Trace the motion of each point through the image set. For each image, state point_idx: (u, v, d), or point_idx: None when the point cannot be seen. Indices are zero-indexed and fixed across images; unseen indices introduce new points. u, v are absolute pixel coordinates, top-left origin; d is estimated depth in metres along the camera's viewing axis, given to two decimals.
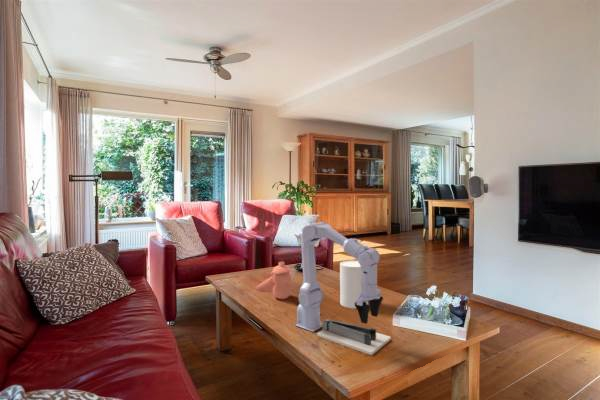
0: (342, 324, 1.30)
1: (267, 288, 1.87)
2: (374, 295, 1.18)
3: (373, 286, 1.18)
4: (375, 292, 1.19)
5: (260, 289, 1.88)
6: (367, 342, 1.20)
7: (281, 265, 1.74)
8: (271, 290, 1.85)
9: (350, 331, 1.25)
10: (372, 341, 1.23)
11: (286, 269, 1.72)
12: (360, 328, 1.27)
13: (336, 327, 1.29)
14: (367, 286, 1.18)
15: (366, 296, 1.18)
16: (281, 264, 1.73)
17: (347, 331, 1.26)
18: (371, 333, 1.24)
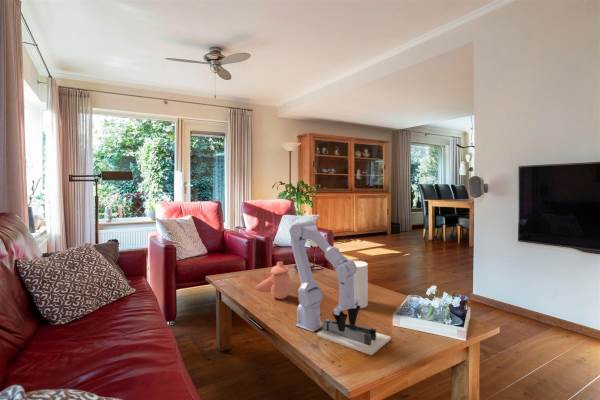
0: None
1: (266, 288, 1.87)
2: (351, 305, 1.25)
3: (350, 296, 1.24)
4: (352, 302, 1.25)
5: (259, 289, 1.89)
6: (367, 342, 1.20)
7: (279, 265, 1.74)
8: (270, 290, 1.86)
9: (350, 331, 1.25)
10: (372, 341, 1.23)
11: (284, 269, 1.72)
12: (360, 328, 1.27)
13: (336, 327, 1.29)
14: (344, 296, 1.24)
15: (343, 306, 1.25)
16: (279, 264, 1.74)
17: (347, 331, 1.26)
18: (371, 333, 1.24)
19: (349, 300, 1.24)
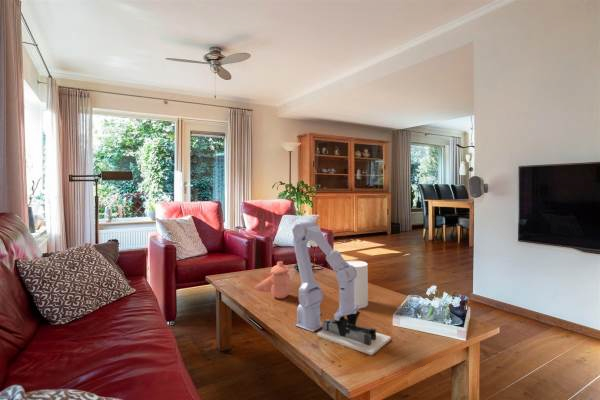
0: None
1: (266, 287, 1.88)
2: (351, 310, 1.25)
3: (350, 302, 1.25)
4: (352, 307, 1.25)
5: (259, 288, 1.89)
6: (367, 342, 1.20)
7: (279, 265, 1.75)
8: (270, 289, 1.86)
9: (350, 331, 1.25)
10: (372, 341, 1.23)
11: (284, 269, 1.73)
12: (360, 328, 1.27)
13: (336, 327, 1.29)
14: (344, 302, 1.25)
15: (343, 311, 1.25)
16: (279, 264, 1.75)
17: (347, 331, 1.26)
18: (371, 333, 1.24)
19: (349, 305, 1.25)
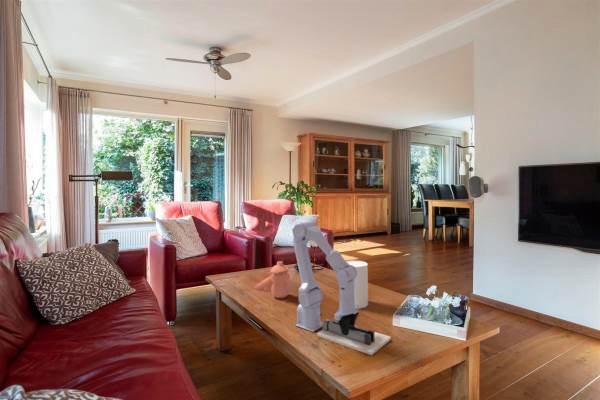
0: None
1: (266, 287, 1.88)
2: (351, 310, 1.25)
3: (350, 301, 1.25)
4: (352, 307, 1.25)
5: (259, 288, 1.90)
6: (367, 342, 1.20)
7: (279, 264, 1.75)
8: (270, 289, 1.87)
9: (350, 331, 1.25)
10: None
11: (284, 268, 1.73)
12: (359, 329, 1.25)
13: (336, 327, 1.29)
14: (344, 301, 1.25)
15: (344, 311, 1.25)
16: (279, 263, 1.75)
17: None
18: None
19: (349, 305, 1.25)
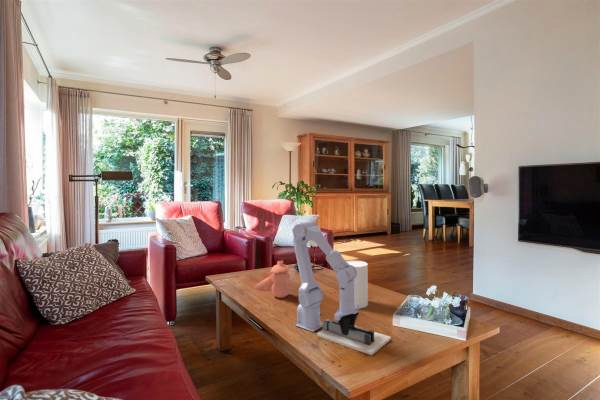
0: None
1: (266, 287, 1.89)
2: (351, 310, 1.25)
3: (350, 301, 1.25)
4: (352, 307, 1.25)
5: (259, 288, 1.90)
6: (367, 342, 1.20)
7: (280, 264, 1.76)
8: (270, 289, 1.87)
9: (350, 331, 1.25)
10: None
11: (285, 268, 1.74)
12: (358, 330, 1.25)
13: (336, 327, 1.29)
14: (344, 301, 1.25)
15: (344, 311, 1.25)
16: (280, 263, 1.76)
17: None
18: None
19: (349, 305, 1.25)
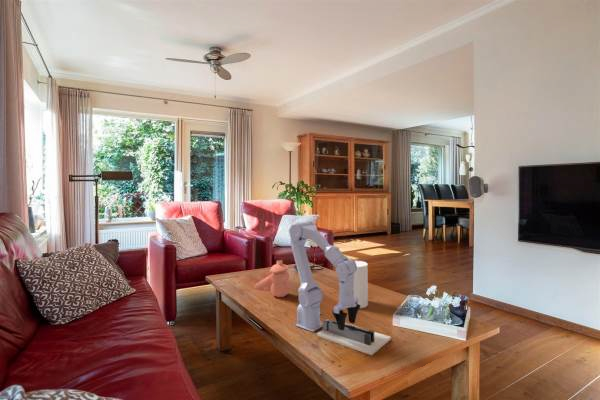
0: None
1: (266, 286, 1.90)
2: (351, 303, 1.25)
3: (350, 295, 1.24)
4: (352, 300, 1.25)
5: (259, 287, 1.91)
6: (367, 342, 1.20)
7: (279, 264, 1.77)
8: (269, 288, 1.88)
9: (350, 331, 1.25)
10: None
11: (284, 268, 1.75)
12: (358, 330, 1.25)
13: (336, 327, 1.29)
14: (344, 295, 1.24)
15: (343, 304, 1.25)
16: (279, 263, 1.77)
17: (347, 331, 1.26)
18: None
19: (349, 299, 1.24)
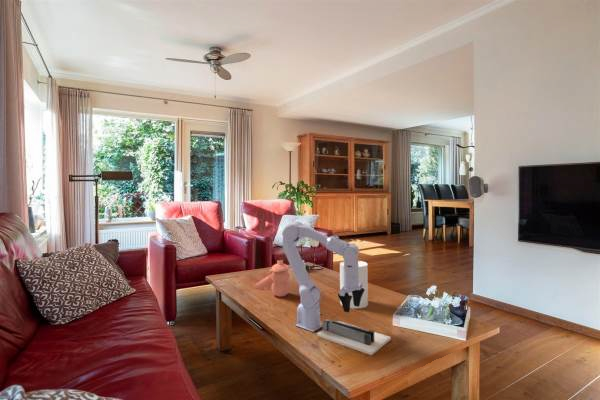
0: (341, 325, 1.30)
1: (266, 286, 1.91)
2: (355, 286, 1.30)
3: (354, 278, 1.30)
4: (356, 284, 1.30)
5: (259, 287, 1.92)
6: (367, 342, 1.20)
7: (280, 263, 1.78)
8: (270, 288, 1.89)
9: (350, 331, 1.25)
10: None
11: (284, 267, 1.76)
12: (358, 330, 1.25)
13: (336, 327, 1.29)
14: (349, 278, 1.30)
15: (348, 287, 1.30)
16: (280, 262, 1.77)
17: (347, 331, 1.26)
18: None
19: (354, 282, 1.30)
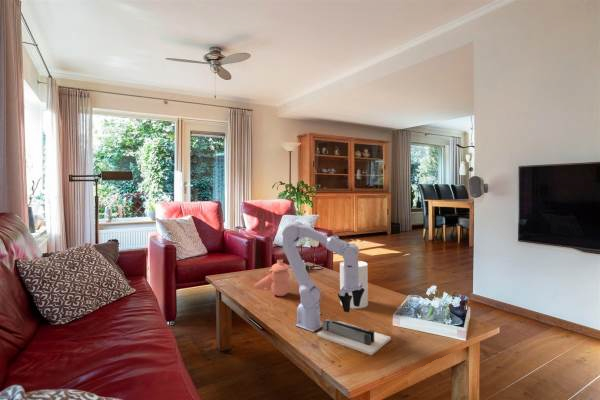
0: (341, 325, 1.30)
1: (266, 285, 1.91)
2: (355, 286, 1.30)
3: (354, 278, 1.30)
4: (356, 284, 1.30)
5: (259, 286, 1.93)
6: (367, 342, 1.20)
7: (279, 263, 1.78)
8: (269, 287, 1.90)
9: (350, 331, 1.25)
10: None
11: (284, 267, 1.77)
12: (358, 330, 1.25)
13: (336, 327, 1.29)
14: (349, 278, 1.30)
15: (348, 287, 1.30)
16: (279, 262, 1.78)
17: (347, 331, 1.26)
18: None
19: (354, 282, 1.30)
